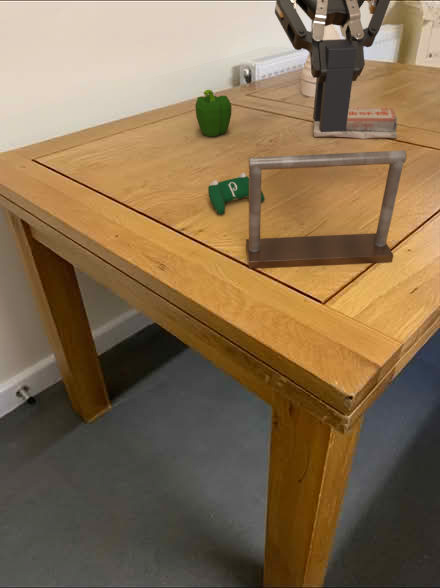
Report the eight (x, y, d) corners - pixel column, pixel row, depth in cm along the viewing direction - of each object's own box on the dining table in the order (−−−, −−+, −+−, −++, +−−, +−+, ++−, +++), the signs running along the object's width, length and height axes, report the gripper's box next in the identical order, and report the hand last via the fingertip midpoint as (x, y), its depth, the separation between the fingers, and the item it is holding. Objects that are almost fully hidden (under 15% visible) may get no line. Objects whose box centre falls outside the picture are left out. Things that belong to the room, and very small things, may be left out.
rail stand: (379, 239, 70) (399, 142, 61) (392, 262, 65) (415, 159, 56) (245, 245, 70) (245, 149, 61) (248, 268, 65) (249, 167, 56)
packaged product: (395, 103, 106) (401, 117, 99) (391, 125, 109) (396, 140, 102) (315, 102, 109) (314, 115, 101) (313, 123, 112) (312, 138, 104)
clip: (312, 118, 60) (319, 40, 54) (336, 117, 60) (345, 39, 54) (320, 132, 56) (329, 49, 50) (345, 131, 56) (356, 47, 50)
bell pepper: (217, 124, 114) (215, 81, 108) (238, 133, 108) (237, 88, 102) (188, 132, 110) (185, 87, 104) (209, 142, 105) (206, 95, 98)
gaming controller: (258, 207, 83) (246, 176, 83) (267, 199, 79) (254, 167, 80) (213, 220, 80) (200, 188, 80) (219, 212, 76) (206, 179, 77)
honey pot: (308, 84, 141) (313, 15, 129) (350, 87, 136) (359, 16, 125) (294, 95, 132) (298, 22, 120) (339, 99, 127) (348, 23, 116)
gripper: (271, -87, 51) (280, 60, 49) (399, -92, 51) (414, 54, 49) (265, -31, 59) (273, 98, 56) (377, -36, 58) (389, 93, 56)
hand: (338, 77), depth 53 cm, fingers closed on clip, 3 cm apart
